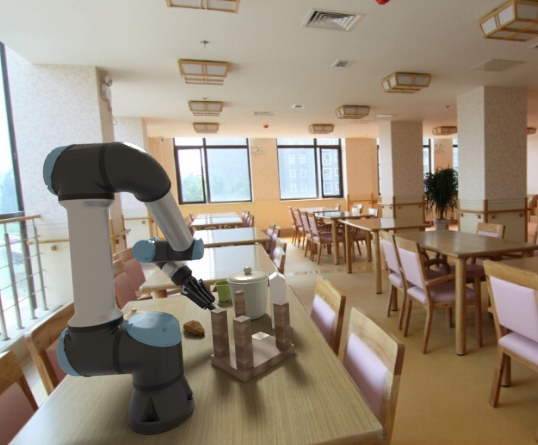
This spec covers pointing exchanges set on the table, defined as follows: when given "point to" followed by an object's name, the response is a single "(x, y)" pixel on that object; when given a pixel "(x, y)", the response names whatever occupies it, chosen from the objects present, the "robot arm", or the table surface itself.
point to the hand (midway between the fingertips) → (223, 317)
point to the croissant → (194, 328)
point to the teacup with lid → (132, 314)
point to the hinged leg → (239, 303)
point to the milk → (276, 290)
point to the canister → (251, 290)
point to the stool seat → (250, 343)
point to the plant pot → (223, 291)
